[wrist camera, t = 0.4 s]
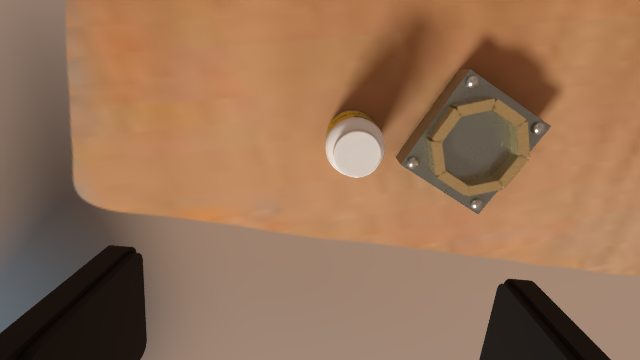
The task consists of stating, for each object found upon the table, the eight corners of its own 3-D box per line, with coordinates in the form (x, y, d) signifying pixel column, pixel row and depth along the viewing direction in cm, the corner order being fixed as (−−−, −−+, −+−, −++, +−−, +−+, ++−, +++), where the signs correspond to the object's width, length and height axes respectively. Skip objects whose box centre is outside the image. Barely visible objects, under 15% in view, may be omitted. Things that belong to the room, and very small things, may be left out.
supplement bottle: (377, 108, 39) (392, 122, 30) (375, 158, 41) (389, 186, 32) (326, 108, 40) (325, 122, 30) (325, 158, 41) (325, 186, 32)
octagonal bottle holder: (459, 68, 38) (476, 69, 34) (534, 121, 39) (560, 129, 35) (395, 157, 41) (403, 168, 36) (467, 204, 42) (484, 220, 38)
